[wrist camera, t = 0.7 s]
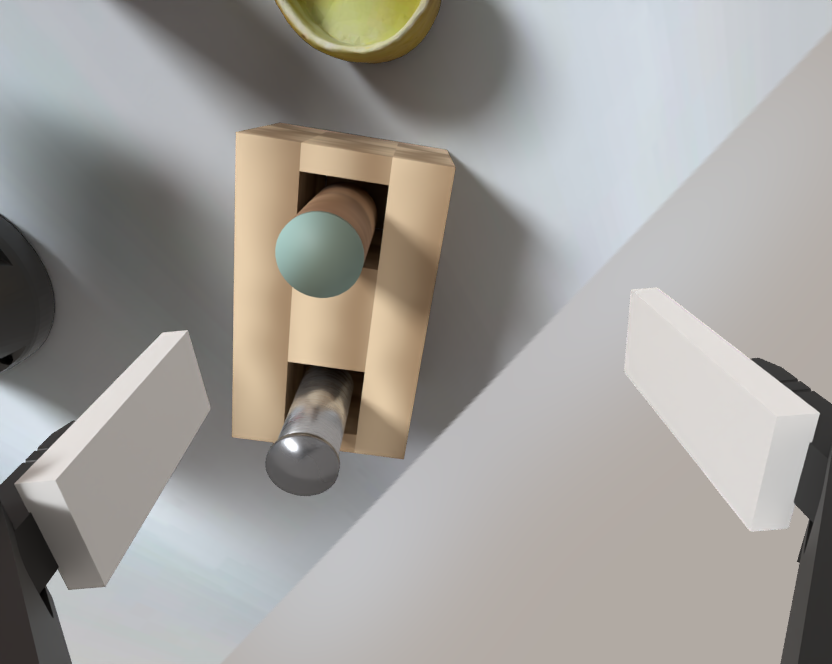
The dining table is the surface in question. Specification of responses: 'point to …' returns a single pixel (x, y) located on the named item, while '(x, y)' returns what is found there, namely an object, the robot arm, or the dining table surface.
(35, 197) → the dining table surface
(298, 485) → the metal pin
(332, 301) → the oak block
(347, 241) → the walnut peg
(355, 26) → the mug
